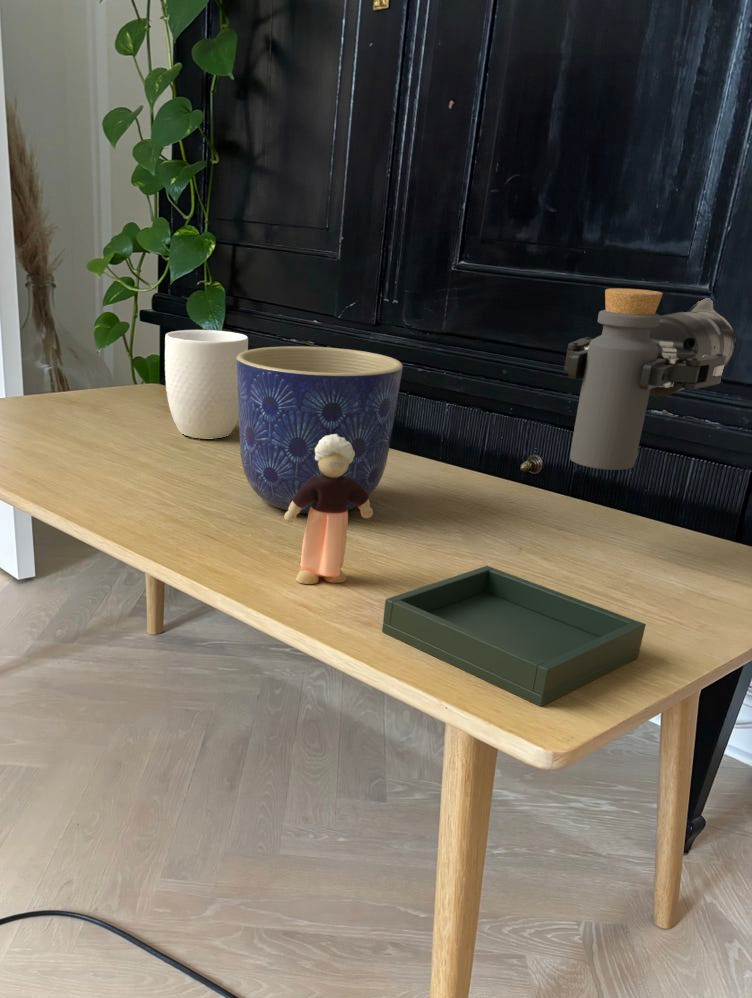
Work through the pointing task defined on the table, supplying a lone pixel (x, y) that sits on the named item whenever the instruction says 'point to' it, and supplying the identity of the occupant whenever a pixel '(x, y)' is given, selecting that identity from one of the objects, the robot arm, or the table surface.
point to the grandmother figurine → (327, 511)
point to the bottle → (616, 381)
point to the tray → (513, 632)
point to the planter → (313, 415)
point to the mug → (203, 380)
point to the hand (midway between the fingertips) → (609, 371)
